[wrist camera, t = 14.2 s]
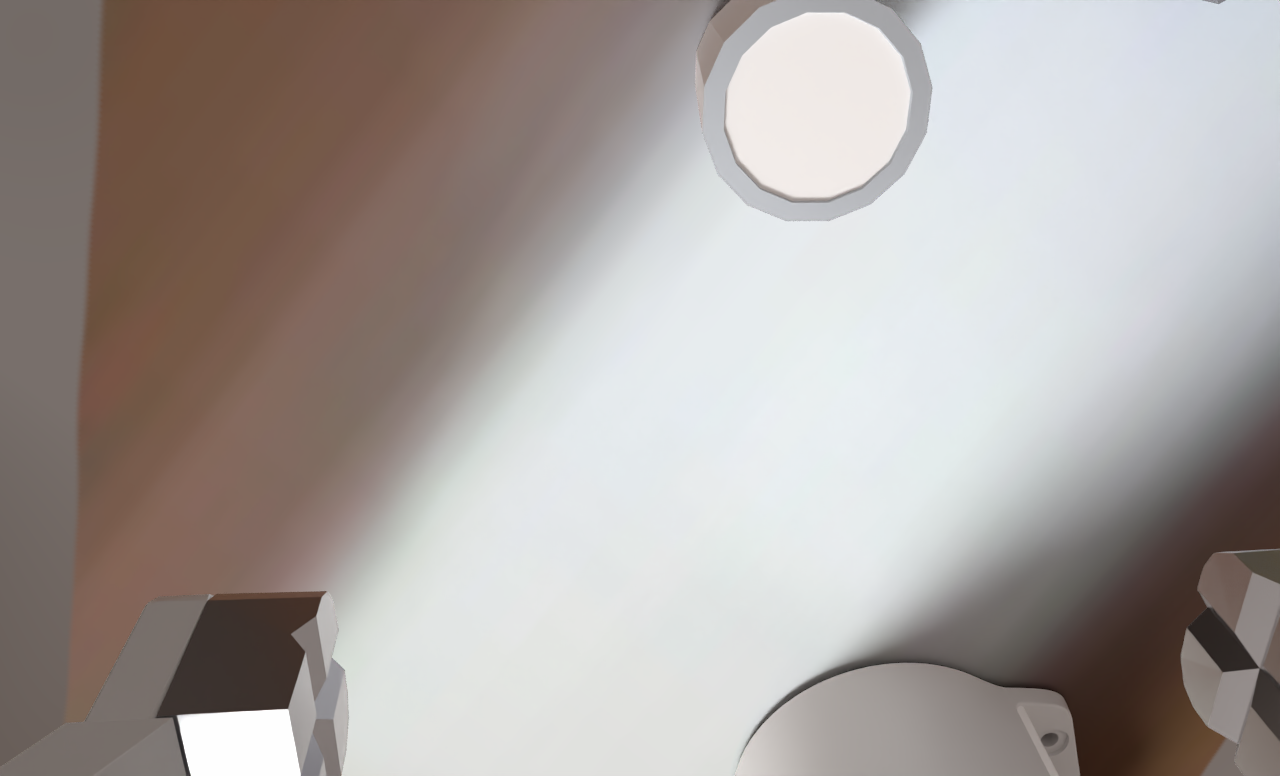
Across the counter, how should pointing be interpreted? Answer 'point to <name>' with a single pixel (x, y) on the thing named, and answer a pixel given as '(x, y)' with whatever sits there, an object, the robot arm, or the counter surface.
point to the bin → (1215, 1)
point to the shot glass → (811, 103)
